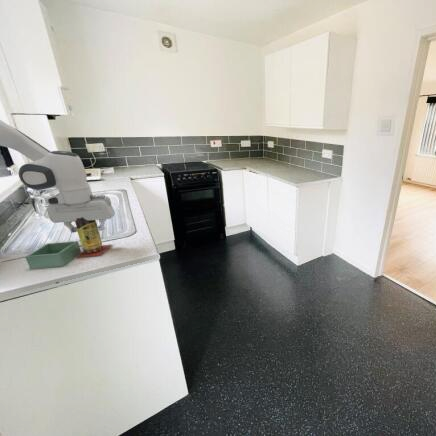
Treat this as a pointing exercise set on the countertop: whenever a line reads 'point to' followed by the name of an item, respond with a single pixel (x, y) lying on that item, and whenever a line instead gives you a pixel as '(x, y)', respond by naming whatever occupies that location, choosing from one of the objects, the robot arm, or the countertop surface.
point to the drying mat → (99, 253)
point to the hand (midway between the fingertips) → (88, 230)
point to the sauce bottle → (88, 235)
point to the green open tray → (53, 255)
